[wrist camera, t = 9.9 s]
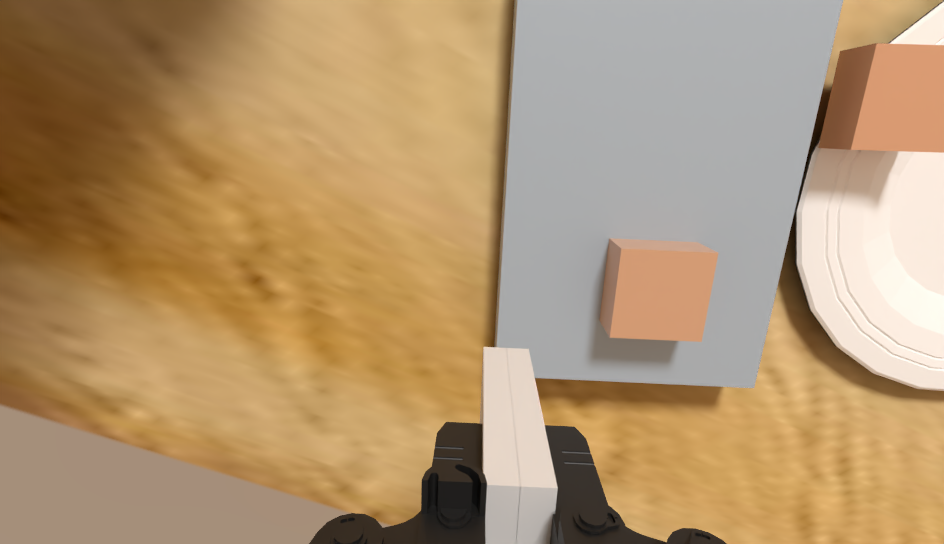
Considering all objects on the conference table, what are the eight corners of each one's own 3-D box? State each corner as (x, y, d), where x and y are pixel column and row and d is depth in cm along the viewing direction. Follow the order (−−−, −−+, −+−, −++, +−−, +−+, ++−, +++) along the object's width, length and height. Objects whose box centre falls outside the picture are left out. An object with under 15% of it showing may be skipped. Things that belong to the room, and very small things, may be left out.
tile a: (818, 147, 27) (850, 149, 25) (840, 51, 26) (876, 43, 23) (908, 150, 27) (949, 152, 25) (934, 54, 26) (981, 46, 23)
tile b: (599, 320, 29) (609, 337, 26) (609, 238, 27) (621, 248, 25) (683, 324, 29) (701, 341, 26) (697, 242, 27) (718, 253, 25)
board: (493, 354, 33) (494, 376, 30) (517, -51, 26) (521, -73, 23) (730, 365, 33) (754, 388, 30) (815, -39, 26) (857, -60, 23)
